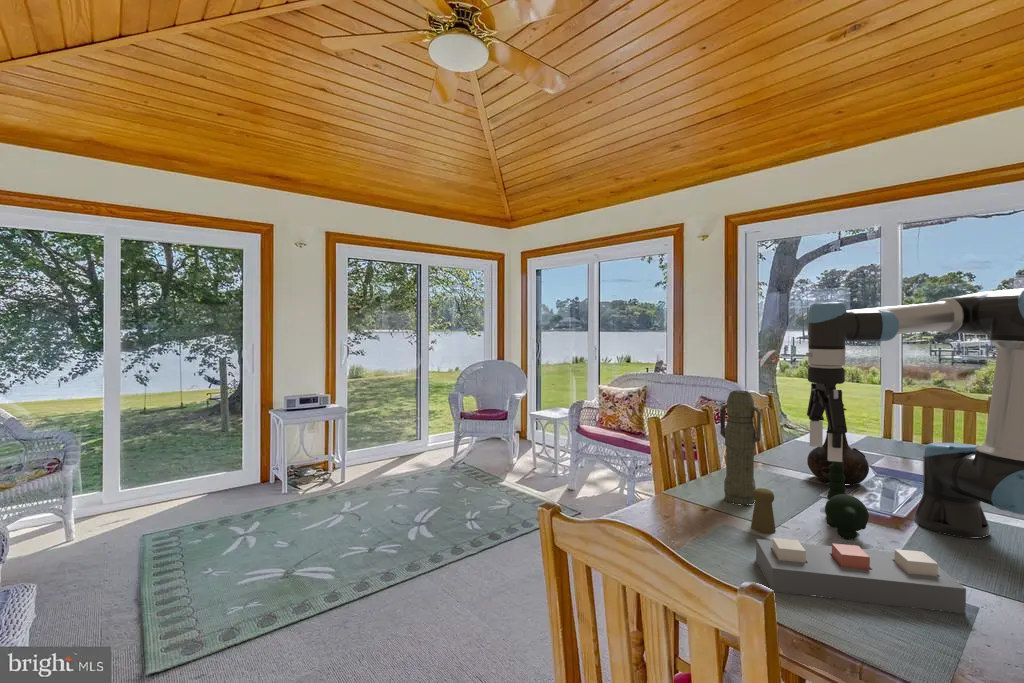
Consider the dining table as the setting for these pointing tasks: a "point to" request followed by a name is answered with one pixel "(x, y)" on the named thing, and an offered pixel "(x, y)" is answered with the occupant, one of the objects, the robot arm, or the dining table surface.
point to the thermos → (740, 446)
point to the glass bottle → (853, 464)
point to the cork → (763, 511)
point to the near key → (915, 562)
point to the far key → (788, 550)
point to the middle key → (850, 556)
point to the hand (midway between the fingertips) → (824, 453)
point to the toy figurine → (843, 505)
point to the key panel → (860, 580)
